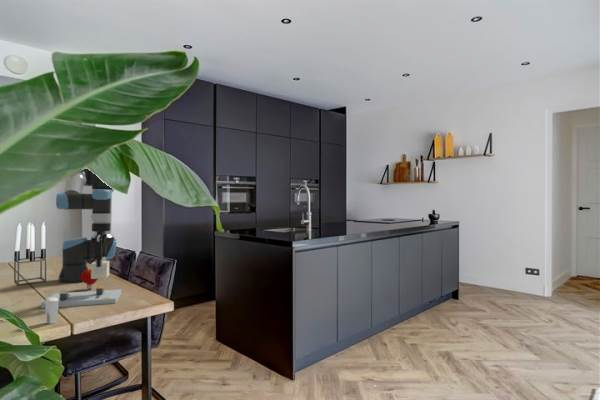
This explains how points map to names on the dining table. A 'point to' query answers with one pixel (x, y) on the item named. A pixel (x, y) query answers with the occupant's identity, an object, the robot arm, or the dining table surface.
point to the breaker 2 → (99, 290)
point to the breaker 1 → (63, 295)
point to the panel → (87, 298)
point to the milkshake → (51, 310)
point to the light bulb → (88, 279)
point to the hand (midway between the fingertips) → (100, 272)
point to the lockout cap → (104, 270)
